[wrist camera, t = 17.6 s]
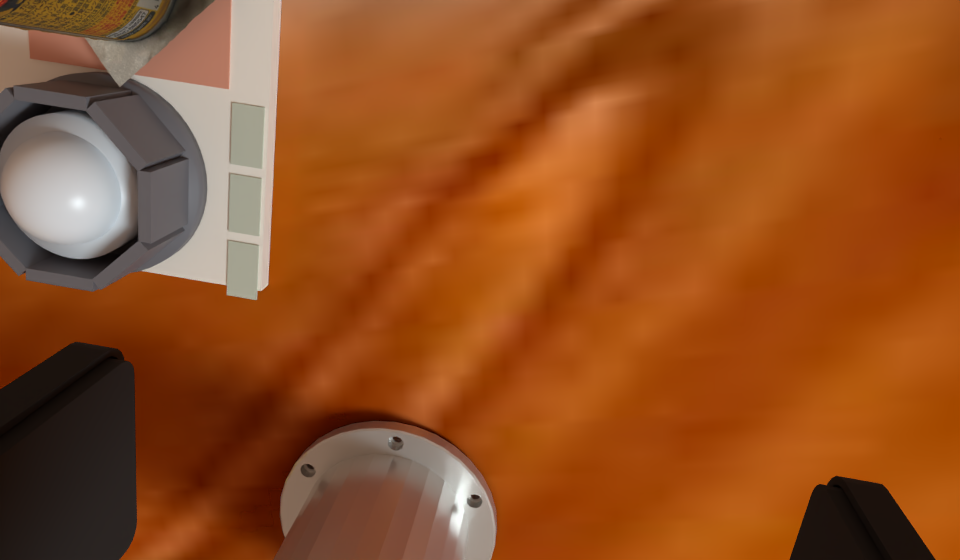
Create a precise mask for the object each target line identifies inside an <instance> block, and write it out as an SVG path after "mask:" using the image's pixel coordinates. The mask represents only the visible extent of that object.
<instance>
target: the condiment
mask: <svg viewBox="0 0 960 560" xmlns="http://www.w3.org/2000/svg"><path fill="white" fill-rule="evenodd" d="M214 1H215V0H0V25H2V26H7V27H14V28H18V29H21V30H36V31H41V32H47V33H56V34H62V35H69V36H74V37H84V38H85V39H86V40H87V42H88V43H89V44H90V46H91V47H92V49H93V50H94V52H95V54H96V55H97V56H98V58H99V60H100V61H101V63H102V64H103V65H104V67H105V68H106V69H107V71H108V72H109V74H110V75H111V76H112V78H113V79H114V80H115V82H116V83H117V84H118V86H119V87H121V86H122V85H123V84H124V83H125V82H126V81H127V80H128V79H130V78H131V77H132V76H133V75H134V74H135V73H136V72H137V71H139V70H140V69H141V68H142V67H143V66H144V65H146V64H147V63H148V62H149V61H150V60H151V58H153V57H154V56H155V55H157V54H158V53H159V52H160V51H161V50H162V49H163V48H165V47H166V46H167V45H168V43H169V42H170V41H172V40H173V39H174V38H175V37H176V36H177V35H178V34H179V33H180V32H181V31H182V30H183V29H185V28H186V26H187V25H188V24H189V23H190V22H191V21H192V20H193V19H194V18H195V17H196V16H198V15H199V14H200V13H201V12H203V11H204V10H205V9H206V8H207V7H208V6H209V5H210V4H211V3H213V2H214Z"/></svg>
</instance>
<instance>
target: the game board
mask: <svg viewBox="0 0 960 560" xmlns="http://www.w3.org/2000/svg"><path fill="white" fill-rule="evenodd" d="M281 1H282V0H215V1H214V2H213V3H211V4H210V5H209V6H208V7H207V8H206V9H205V10H204V11H203V12H201V13H200V14H199V15H198V16H196V17H195V18H194V19H193V20H192V21H191V22H190V23H189V24H188V25H187V26H186V28H185V29H183V30H182V31H181V32H180V33H179V34H178V35H177V36H176V37H175V38H174V39H173V40H172V41H170V42H169V43H168V45H167V46H166V47H165V48H163V49H162V50H161V51H160V52H159V53H158V54H157V55H155V56H154V57H153V58H151V60H150V61H149V62H148V63H147V64H146V65H144V66H143V67H142V68H141V69H140V70H139V71H137V72H136V73H135V74H134V75H133V76H132V77H131V78H130V79H128V80H127V81H126V82H125V83H124V84H123V85H122V86H121V87H119V86H118V84H117V83H116V82H115V80H114V79H113V78H112V76H111V75H110V74H109V72H108V71H107V69H106V68H105V67H104V65H103V64H102V63H101V61H100V60H99V58H98V56H97V55H96V54H95V52H94V50H93V49H92V47H91V46H90V44H89V43H88V42H87V40H86V39H85V38H84V37H74V36H69V35H62V34H56V33H47V32H41V31H36V30H21V29H18V28H14V27H7V26H2V25H0V151H1V148H2V146H3V144H4V142H5V140H6V138H7V137H8V135H9V134H10V133H11V132H12V131H13V130H14V128H16V127H17V126H18V125H19V124H21V123H22V122H24V121H26V120H28V119H30V118H32V117H35V116H39V115H44V114H49V113H55V112H61V111H66V110H72V109H76V110H83V111H86V112H87V113H88V114H89V115H90V116H91V117H92V119H93V120H94V121H95V122H96V123H97V124H98V126H99V127H100V128H101V129H102V130H103V131H104V133H105V134H106V135H107V136H108V137H109V138H110V140H111V141H112V142H113V143H114V144H115V145H116V147H117V148H118V149H119V150H120V151H121V152H122V154H123V155H124V156H125V157H126V158H127V159H128V161H129V162H130V163H131V164H132V165H133V166H134V168H135V169H136V170H137V173H138V238H137V239H135V240H133V241H131V242H129V243H127V244H125V245H123V246H121V247H119V248H117V249H115V250H113V251H111V252H109V253H107V254H105V255H102V256H99V257H96V258H90V259H74V258H68V257H64V256H60V255H57V254H55V253H52V252H50V251H48V250H46V249H44V248H43V247H41V246H39V245H38V244H36V243H35V242H34V241H32V240H31V239H30V238H29V237H28V236H27V235H26V234H25V233H24V232H23V231H22V230H21V229H20V228H19V227H18V226H17V224H16V223H15V222H14V220H13V219H12V217H11V216H10V214H9V212H8V210H7V209H6V207H5V205H4V202H3V199H2V197H1V193H0V256H1V257H2V258H3V259H4V260H5V262H6V263H7V264H8V265H9V266H10V267H11V268H12V269H13V270H14V271H15V272H16V273H17V275H18V276H19V275H21V274H24V273H26V280H29V281H35V282H40V283H46V284H52V285H58V286H64V287H69V288H75V289H81V290H87V291H95V290H97V289H100V290H101V289H103V288H105V287H106V286H108V285H110V284H112V283H113V282H115V281H117V280H119V279H120V278H122V277H124V276H126V275H127V274H129V273H131V272H137V271H146V272H152V273H158V274H163V275H169V276H175V277H181V278H187V279H193V280H199V281H205V282H210V283H216V284H222V285H227V295H230V296H236V297H242V298H248V299H253V300H257V291H262V290H263V289H264V288H265V287H266V286H267V285H268V277H269V256H270V235H271V213H272V192H273V171H274V150H275V128H276V107H277V86H278V64H279V43H280V22H281Z"/></svg>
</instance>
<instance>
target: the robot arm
mask: <svg viewBox="0 0 960 560" xmlns="http://www.w3.org/2000/svg"><path fill="white" fill-rule="evenodd" d="M396 436H397V437H399V438H397V437H396ZM475 494H476V495H475ZM280 519H281V525H282V532H283V534H284V537H285V539H284V541H283V543H282V545H281V547H280V548H279V550H278V552H277V554H276V556H275V558H274V559H273V560H491V557H492V553H493V550H494V546H495V540H496V532H497V518H496V508H495V505H494V501H493V497H492V494H491V491H490V489H489V487H488V485H487V483H486V482H485V480H484V478H483V476H482V474H481V473H480V472H479V470H478V469H477V468H476V467H475V465H474V464H473V463H472V462H471V460H470V459H469V458H468V457H466V456H465V455H464V454H463V453H462V452H461V451H460V450H459V449H457V448H456V447H455V446H454V445H452V444H451V443H449V442H447V441H446V440H444V439H442V438H441V437H439V436H438V435H436V434H433V433H431V432H429V431H426V430H424V429H421V428H419V427H416V426H412V425H407V424H403V423H398V422H388V421H368V422H360V423H353V424H350V425H347V426H344V427H341V428H338V429H335V430H333V431H331V432H329V433H327V434H326V435H324V436H322V437H320V438H318V439H317V440H316V441H315V442H314V443H313V444H312V445H310V446H309V447H308V448H307V449H306V450H305V451H304V452H303V453H302V455H301V456H300V458H299V459H298V460H297V462H296V463H295V464H294V466H293V468H292V470H291V472H290V473H289V475H288V477H287V479H286V481H285V484H284V488H283V491H282V494H281V501H280ZM136 524H137V505H136V444H135V384H134V368H133V366H132V364H131V363H130V362H128V361H124V357H123V355H122V352H121V351H119V350H118V349H115V348H109V347H103V346H98V345H92V344H86V343H80V342H75V343H72V344H70V345H68V346H67V347H65V348H64V349H62V350H60V351H59V352H57V353H56V354H54V355H53V356H51V357H50V358H48V359H47V360H45V361H44V362H42V363H40V364H39V365H37V366H36V367H34V368H33V369H31V370H30V371H28V372H27V373H25V374H24V375H22V376H20V377H19V378H17V379H16V380H14V381H13V382H11V383H10V384H8V385H7V386H5V387H3V388H2V389H0V560H119V559H120V558H121V557H122V556H123V554H124V553H125V552H126V551H127V549H128V548H129V546H130V544H131V542H132V540H133V537H134V534H135V530H136ZM790 560H935V558H934V557H933V555H932V554H931V552H930V551H929V549H928V548H927V547H926V545H925V544H924V542H923V541H922V539H921V538H920V536H919V535H918V533H917V532H916V531H915V529H914V528H913V526H912V525H911V523H910V522H909V520H908V519H907V517H906V516H905V515H904V513H903V512H902V510H901V509H900V507H899V506H898V504H897V503H896V501H895V500H894V499H893V497H892V496H891V494H890V493H889V491H888V490H887V489H886V488H885V487H884V486H883V485H882V484H878V483H873V482H868V481H862V480H856V479H851V478H845V477H839V476H835V477H833V478H832V479H831V480H830V481H829V482H828V484H827V485H822V484H819V485H817V486H816V487H815V488H814V490H813V492H812V494H811V497H810V500H809V503H808V506H807V509H806V512H805V515H804V518H803V521H802V524H801V527H800V530H799V533H798V536H797V539H796V542H795V545H794V548H793V551H792V554H791V557H790Z"/></svg>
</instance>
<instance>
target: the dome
mask: <svg viewBox="0 0 960 560" xmlns="http://www.w3.org/2000/svg"><path fill="white" fill-rule="evenodd" d="M0 193H1V197H2V199H3V202H4V205H5V207H6V209H7V210H8V212H9V214H10V216H11V217H12V219H13V220H14V222H15V223H16V224H17V226H18V227H19V228H20V229H21V230H22V231H23V232H24V233H25V234H26V235H27V236H28V237H29V238H30V239H31V240H32V241H34V242H35V243H36V244H38V245H39V246H41V247H43V248H44V249H46V250H48V251H50V252H52V253H55V254H57V255H60V256H64V257H68V258H74V259H90V258H96V257H99V256H102V255H105V254H107V253H109V252H111V251H113V250H115V249H117V248H119V247H121V246H123V245H125V244H127V243H129V242H131V241H133V240H135V239H137V238H138V173H137V170H136V169H135V168H134V166H133V165H132V164H131V163H130V162H129V161H128V159H127V158H126V157H125V156H124V155H123V154H122V152H121V151H120V150H119V149H118V148H117V147H116V145H115V144H114V143H113V142H112V141H111V140H110V138H109V137H108V136H107V135H106V134H105V133H104V131H103V130H102V129H101V128H100V127H99V126H98V124H97V123H96V122H95V121H94V120H93V119H92V117H91V116H90V115H89V114H88V113H87V112H86V111H83V110H76V109H72V110H66V111H61V112H55V113H49V114H44V115H39V116H35V117H32V118H30V119H28V120H26V121H24V122H22V123H21V124H19V125H18V126H17V127H16V128H14V130H13V131H12V132H11V133H10V134H9V135H8V137H7V138H6V140H5V142H4V144H3V146H2V148H1V151H0Z"/></svg>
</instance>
